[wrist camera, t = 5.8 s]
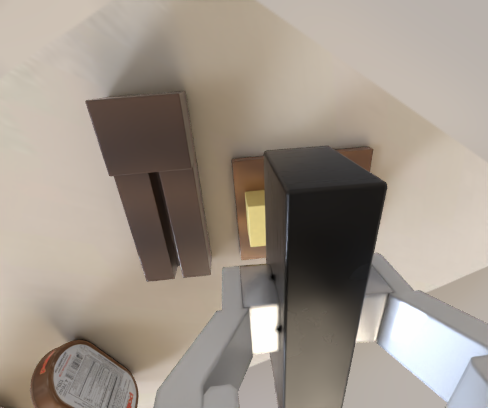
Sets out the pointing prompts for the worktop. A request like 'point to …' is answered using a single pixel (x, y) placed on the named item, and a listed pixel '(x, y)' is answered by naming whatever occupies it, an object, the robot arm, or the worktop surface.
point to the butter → (256, 217)
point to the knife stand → (156, 179)
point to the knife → (318, 267)
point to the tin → (82, 379)
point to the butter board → (252, 179)
